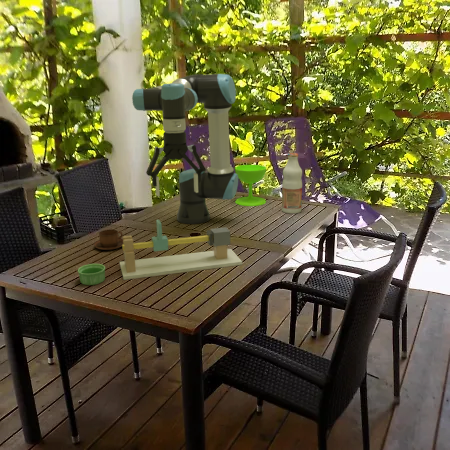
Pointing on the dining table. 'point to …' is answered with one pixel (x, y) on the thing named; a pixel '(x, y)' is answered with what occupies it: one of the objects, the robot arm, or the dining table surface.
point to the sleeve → (160, 239)
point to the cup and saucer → (109, 240)
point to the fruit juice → (292, 186)
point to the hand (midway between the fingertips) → (177, 193)
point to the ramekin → (92, 274)
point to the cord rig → (179, 256)
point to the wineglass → (250, 183)
